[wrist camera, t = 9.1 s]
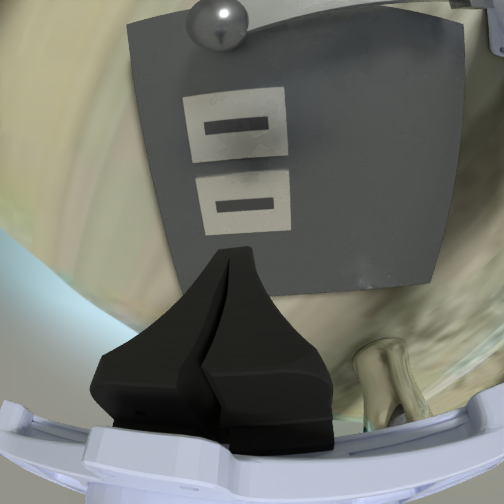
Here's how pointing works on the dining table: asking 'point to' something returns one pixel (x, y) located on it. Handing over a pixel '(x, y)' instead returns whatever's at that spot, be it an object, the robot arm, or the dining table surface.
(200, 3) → the grey ball-ended handle
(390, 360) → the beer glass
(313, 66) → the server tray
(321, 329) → the dining table surface
